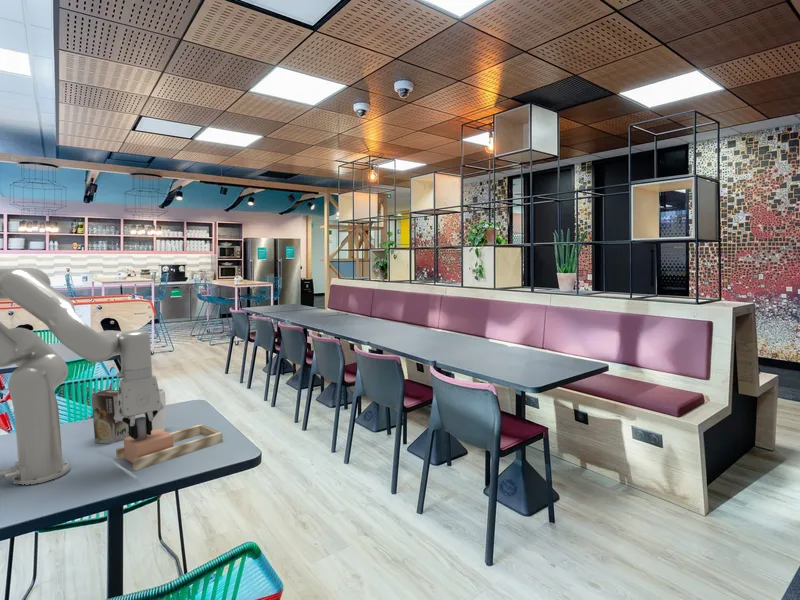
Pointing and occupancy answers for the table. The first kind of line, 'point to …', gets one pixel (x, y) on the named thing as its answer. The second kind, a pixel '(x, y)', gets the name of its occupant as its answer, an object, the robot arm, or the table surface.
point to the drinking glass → (160, 414)
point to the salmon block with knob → (146, 441)
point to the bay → (166, 454)
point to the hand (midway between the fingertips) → (140, 435)
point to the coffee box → (107, 418)
